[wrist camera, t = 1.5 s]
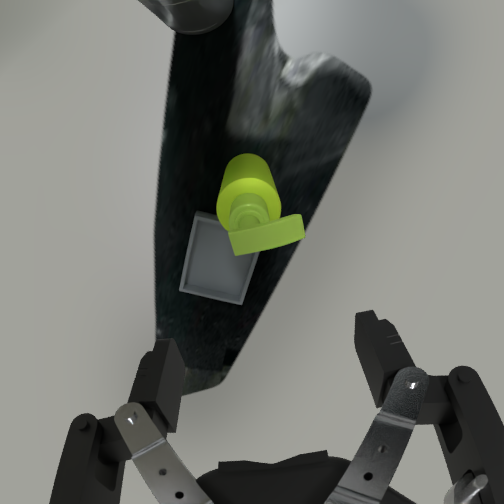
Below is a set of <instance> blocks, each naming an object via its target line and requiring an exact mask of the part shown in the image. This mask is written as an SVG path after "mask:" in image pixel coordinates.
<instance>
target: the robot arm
mask: <svg viewBox="0 0 504 504" xmlns="http://www.w3.org/2000/svg"><path fill="white" fill-rule="evenodd" d="M138 1H139V2H141V3H142V4H143V5H145V7H147V8H148V9H149V10H150V11H151V12H153V13H154V14H155V15H156V16H157V17H158V18H159V19H161V20H162V21H163V22H164V23H165V24H166V25H167V26H169V27H170V28H171V29H172V30H174V31H176V32H178V33H182V34H186V35H198V34H203V33H207V32H210V31H212V30H214V29H216V28H217V27H219V26H220V25H221V24H223V23H224V21H225V20H226V19H227V18H228V17H229V15H230V13H231V11H232V8H233V1H234V0H138ZM354 342H355V349H356V352H357V355H358V358H359V360H360V363H361V366H362V368H363V371H364V374H365V377H366V379H367V382H368V385H369V388H370V391H371V393H372V396H373V399H374V402H375V405H376V408H379V407H382V408H381V410H380V412H379V414H377V415H376V417H375V418H374V420H373V422H372V424H371V426H370V428H369V431H368V432H367V434H366V436H365V438H364V440H363V442H362V444H361V445H360V447H359V449H358V451H357V453H356V455H355V456H354V458H353V460H352V461H349V460H347V459H343V458H339V457H329V456H328V453H327V450H324V451H318V452H312V453H306V454H300V455H297V456H295V457H292V458H289V459H286V460H283V461H280V462H278V463H274V464H267V463H259V462H251V461H227V462H219V464H218V469H215V470H212V471H209V472H208V473H205V474H203V475H202V476H201V477H199V478H198V479H195V477H194V476H193V475H192V474H191V472H190V471H189V470H188V469H187V467H186V466H185V465H184V464H183V462H182V461H181V460H180V458H179V457H178V455H177V454H176V453H175V451H174V450H173V449H172V447H171V446H170V444H169V443H168V442H167V440H166V437H167V433H176V427H177V421H178V415H179V408H180V402H181V396H182V390H183V384H184V378H185V365H184V362H183V359H182V357H181V354H180V352H179V350H178V347H177V345H176V342H175V340H174V339H173V338H171V339H160V340H156V342H155V345H154V348H153V351H149V352H147V353H146V354H145V355H144V356H143V358H142V359H141V361H140V364H139V367H138V371H137V373H136V378H135V380H134V383H133V386H132V390H131V393H130V397H129V400H128V403H127V404H124V405H123V406H121V407H120V408H119V409H118V410H117V411H116V413H115V415H114V416H111V417H108V418H103V419H99V420H97V419H96V418H95V416H93V415H92V414H89V413H85V414H81V415H79V416H77V417H76V418H75V419H74V420H73V421H72V423H71V425H70V429H69V432H68V435H67V438H66V442H65V445H64V448H63V452H62V455H61V459H60V463H59V466H58V470H57V474H56V478H55V482H54V486H53V490H52V494H51V498H50V503H49V504H119V503H120V495H121V488H122V481H123V474H124V468H125V462H126V460H130V459H132V460H133V462H134V464H135V465H136V467H137V469H138V470H139V472H140V474H141V476H142V477H143V479H144V480H145V482H146V484H147V485H148V487H149V488H150V490H151V491H152V493H153V495H154V496H155V498H156V499H157V501H158V502H159V504H416V503H415V502H413V501H411V500H410V499H408V498H407V497H405V496H404V495H402V494H400V493H399V492H397V491H395V490H394V489H393V488H391V487H390V486H389V484H390V482H391V480H392V478H393V475H394V473H395V471H396V469H397V467H398V465H399V462H400V460H401V458H402V455H403V453H404V451H405V449H406V446H407V444H408V442H409V439H410V437H411V434H412V432H413V429H414V426H415V425H418V424H420V425H423V424H433V425H434V427H435V430H436V433H437V436H438V439H439V442H440V445H441V448H442V451H443V454H444V457H445V461H446V463H447V467H448V470H449V474H450V477H451V480H452V484H453V486H452V487H451V488H450V489H449V490H448V492H447V493H446V495H445V498H444V504H504V425H503V423H502V421H501V418H500V416H499V414H498V412H497V410H496V408H495V406H494V404H493V402H492V400H491V398H490V396H489V394H488V392H487V390H486V388H485V386H484V385H483V383H482V381H481V379H480V377H479V375H478V373H477V372H476V371H475V370H474V369H472V368H471V367H468V366H458V367H455V368H454V369H452V370H451V372H450V373H449V375H448V376H431V375H427V373H426V372H425V371H424V370H422V369H420V368H417V367H416V366H415V364H414V362H413V360H412V358H411V356H410V354H409V353H408V351H407V349H406V347H405V345H404V343H403V342H402V339H401V337H400V336H399V335H398V332H397V330H396V328H395V326H394V325H393V324H391V323H390V322H389V321H388V320H386V319H383V320H378V318H377V316H376V314H375V313H374V311H373V310H369V311H364V312H359V313H356V316H355V335H354Z"/></svg>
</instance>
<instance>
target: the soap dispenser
mask: <svg viewBox="0 0 504 504" xmlns="http://www.w3.org/2000/svg"><path fill="white" fill-rule="evenodd" d="M216 210H217V216H218V219H219V221H220V223H221V224H222V226H223V227H224V228H225V229H226V230H227V231H228V235H229V238H230V241H231V245H232V248H233V251H234V254H235V256H238V255H243V254H249V253H254V252H259V251H263V250H268V249H272V248H276V247H279V246H283V245H286V244H289V243H292V242H295V241H298V240H300V239H303V238H305V231H304V226H303V222H302V217H301V215H300V214H293V215H290V216H287V217H283V218H280V219H279V217H280V213H281V203H280V199H279V196H278V193H277V190H276V187H275V184H274V181H273V178H272V175H271V172H270V169H269V167H268V165H267V163H266V162H265V161H264V160H263V159H262V158H261V157H259V156H257V155H254V154H241V155H238V156H236V157H234V158H233V159H232V160H231V161H230V162H229V163H228V165H227V167H226V169H225V173H224V177H223V181H222V185H221V189H220V193H219V196H218V200H217V207H216Z"/></svg>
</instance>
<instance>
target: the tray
mask: <svg viewBox="0 0 504 504" xmlns="http://www.w3.org/2000/svg"><path fill="white" fill-rule="evenodd" d="M259 252H260V251H259ZM259 252H254V253H249V254H243V255H238V256H235V254H234V251H233V248H232V245H231V241H230V238H229V235H228V231H227V230H226V229H225V228H224V227H223V226H222V224H221V223H220V221H219V219H218V216H217V215H214V214H210V213H206V212H202V211H198V210H197V211H196V214H195V217H194V221H193V226H192V230H191V235H190V239H189V244H188V249H187V253H186V258H185V263H184V268H183V273H182V278H181V283H180V288H179V291H182V292H187V293H191V294H195V295H199V296H204V297H208V298H212V299H217V300H221V301H225V302H230V303H234V304H239V305H242V303H243V300H244V297H245V294H246V291H247V288H248V285H249V282H250V279H251V276H252V273H253V270H254V267H255V264H256V261H257V258H258V255H259Z"/></svg>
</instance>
